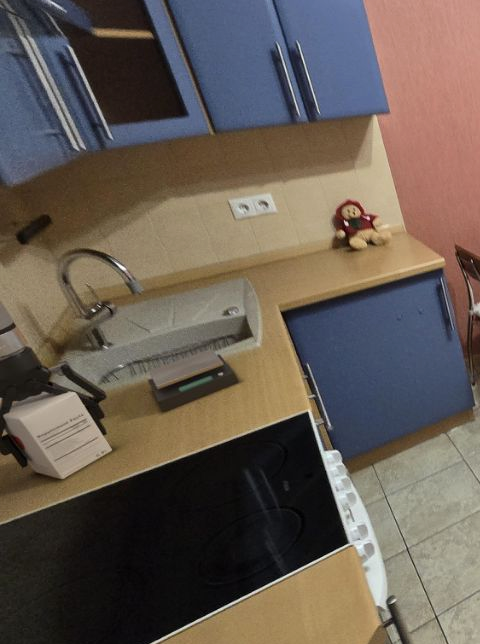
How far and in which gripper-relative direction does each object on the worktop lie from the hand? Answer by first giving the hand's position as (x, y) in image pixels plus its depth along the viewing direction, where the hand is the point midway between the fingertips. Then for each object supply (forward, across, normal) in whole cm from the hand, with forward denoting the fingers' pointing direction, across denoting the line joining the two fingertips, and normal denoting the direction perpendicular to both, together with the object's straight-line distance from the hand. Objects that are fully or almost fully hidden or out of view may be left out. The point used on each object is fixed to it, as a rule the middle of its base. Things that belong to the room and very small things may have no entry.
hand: (65, 447), depth 107 cm
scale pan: (-1, +23, +15) cm, 28 cm away
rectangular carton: (+4, 0, 0) cm, 4 cm away
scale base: (+4, +23, +14) cm, 27 cm away
